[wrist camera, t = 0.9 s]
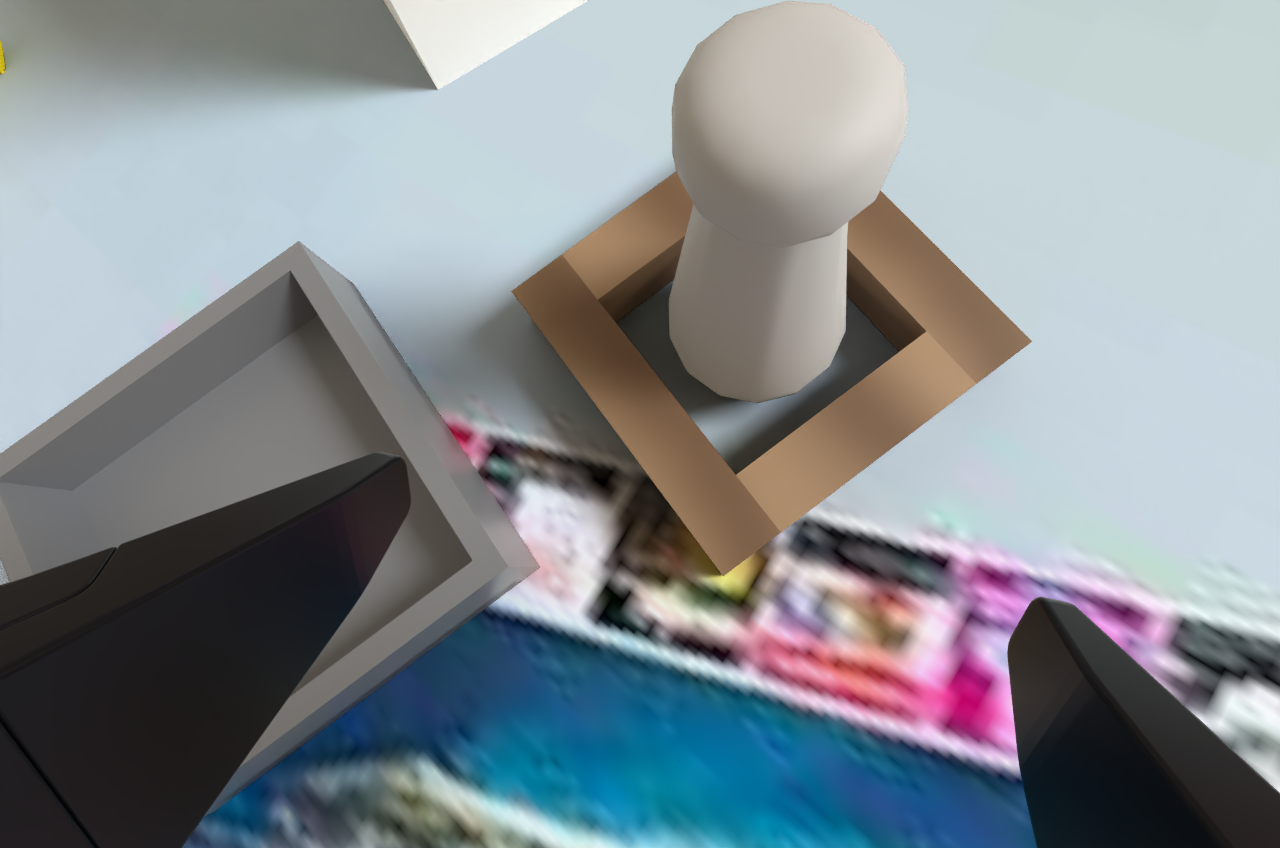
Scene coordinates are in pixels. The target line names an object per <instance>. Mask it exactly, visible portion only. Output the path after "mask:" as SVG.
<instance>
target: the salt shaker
mask: <svg viewBox="0 0 1280 848" xmlns="http://www.w3.org/2000/svg"><path fill="white" fill-rule="evenodd" d="M908 112H909V110H908V98H907V86H906V75H905V65H904V64H903V63H902V61H901V60H900V59H899V57H898V56H897V55H896V53H895V52H894V51H893V49H892V48H891V47H890V45H889V44H888V43H887V41H886V40H885V39H884V37H883V36H882V35H881V33H880V32H879V31H878V29H876V28H875V27H873V26H871V25H869V24H867V23H865V22H863V21H862V20H860V19H858V18H856V17H854V16H852V15H850V14H848V13H847V12H845V11H843V10H841V9H839V8H837V7H835V6H833V5H832V4H822V3H809V2H796V1H785V2H781V3H778V4H774V5H770V6H767V7H763V8H759V9H756V10H752V11H748V12H745V13H742V14H738V15H735V16H734V17H732V18H731V19H730V20H729V21H727V22H726V23H725V24H724V25H722V26H721V27H720V28H718V29H717V30H716V31H715V32H713V33H712V34H711V35H709V36H708V37H707V38H706V39H704V40H703V41H702V42H700V43H699V44H698V45H697V46H696V48H695V50H694V52H693V53H692V55H691V57H690V59H689V61H688V63H687V64H686V66H685V68H684V70H683V72H682V73H681V75H680V77H679V79H678V81H677V83H676V84H675V90H674V97H673V104H672V152H673V158H674V162H675V167H676V172H677V175H678V176H679V178H680V180H681V182H682V184H683V185H684V187H685V189H686V191H687V193H688V194H689V196H690V198H691V200H692V202H693V208H692V212H691V216H690V220H689V224H688V227H687V231H686V235H685V239H684V243H683V247H682V251H681V255H680V259H679V262H678V266H677V270H676V274H675V278H674V282H673V286H672V290H671V294H670V297H669V333H670V339H671V341H672V343H673V345H674V347H675V349H676V351H677V353H678V355H679V357H680V359H681V361H682V363H683V365H684V367H685V369H686V371H687V372H688V373H689V374H690V375H691V376H693V377H694V378H696V379H697V380H699V381H700V382H701V383H703V384H704V385H706V386H707V387H708V388H710V389H711V390H713V391H714V392H715V393H717V394H718V395H720V396H724V397H729V398H734V399H739V400H744V401H749V402H754V403H760V402H764V401H768V400H772V399H776V398H780V397H784V396H789V395H793V394H796V393H797V392H798V391H800V390H801V389H802V388H803V387H805V386H806V385H807V384H808V383H810V382H811V381H812V380H813V379H815V378H816V377H817V376H818V375H820V374H821V373H822V372H823V371H825V370H826V369H827V368H828V367H829V366H830V365H831V363H832V360H833V358H834V356H835V354H836V351H837V349H838V347H839V345H840V342H841V340H842V338H843V336H844V333H845V331H846V279H847V232H848V221H850V220H851V219H852V218H853V217H855V216H856V215H857V214H859V213H860V212H861V211H862V210H864V209H865V208H866V207H868V206H869V205H870V204H871V203H873V202H874V201H875V200H876V198H877V196H878V194H879V192H880V190H881V188H882V186H883V184H884V182H885V180H886V178H887V175H888V173H889V171H890V169H891V166H892V164H893V162H894V160H895V157H896V155H897V153H898V151H899V148H900V146H901V144H902V142H903V139H904V137H905V131H906V125H907V118H908Z"/></svg>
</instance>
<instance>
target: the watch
mask: <svg viewBox="0 0 1280 848" xmlns="http://www.w3.org/2000/svg"><path fill="white" fill-rule="evenodd" d="M4 69H6V67H5V61H4V55H3V48H2V42H1V41H0V74H1V73H2V74H3V73H4V72H5V71H4Z"/></svg>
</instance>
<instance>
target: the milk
mask: <svg viewBox="0 0 1280 848" xmlns="http://www.w3.org/2000/svg"><path fill="white" fill-rule="evenodd" d="M383 1H384V2H385V4H386V5H387V7H388V9H389V10H390V12H391V14H392V15H393V17H394V19H395V20H396V22H397V23H398V25H399V27H400V28H401V30H402V32H403V33H404V35H405V37H406V38H407V40H408V42H409V43H410V45H411V46H412V48H413V50H414V51H415V53H416V55H417V56H418V58H419V60H420V61H421V63H422V64H423V66H424V68H425V69H426V71H427V73H428V74H429V76H430V78H431V79H432V81H433V82H434V84H435V86H436V87H437V89H438V90H439V89H440V88H442V87H444V86H445V85H447V84H449V83H450V82H452V81H454V80H455V79H457V78H459V77H460V76H462V75H464V74H466V73H467V72H469V71H471V70H472V69H474V68H476V67H477V66H479V65H481V64H482V63H484V62H486V61H487V60H489V59H491V58H492V57H494V56H496V55H497V54H499V53H501V52H503V51H504V50H506V49H508V48H509V47H511V46H513V45H514V44H516V43H518V42H519V41H521V40H523V39H524V38H526V37H528V36H529V35H531V34H533V33H534V32H536V31H538V30H540V29H541V28H543V27H545V26H546V25H548V24H550V23H551V22H553V21H555V20H556V19H558V18H560V17H561V16H563V15H565V14H566V13H568V12H570V11H571V10H573V9H575V8H577V7H578V6H580V5H582V4H583V3H585V2H587V1H588V0H383Z"/></svg>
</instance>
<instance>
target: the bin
mask: <svg viewBox="0 0 1280 848" xmlns="http://www.w3.org/2000/svg"><path fill="white" fill-rule="evenodd" d="M374 452H384V453H389V454H393V455H398V456H401V457H402V458H403V459H404V460H405V462H406V465H407V471H408V478H409V485H410V492H411V507H410V510H409V513H408V515H407V517H406V519H405V520H404V522H403V524H402V526H401V527H400V529H399V531H398V533H397V535H396V536H395V538H394V540H393V542H392V543H391V545H390V547H389V549H388V550H387V552H386V554H385V556H384V558H383V559H382V561H381V563H380V565H379V566H378V568H377V570H376V572H375V573H374V575H373V577H372V579H371V581H370V582H369V584H368V586H367V587H366V589H365V590H364V592H363V594H362V595H361V597H360V598H359V600H358V601H357V603H356V604H355V606H354V607H353V609H352V610H351V611H350V613H349V614H348V616H347V617H346V618H345V620H344V621H343V623H342V624H341V625H340V627H339V628H338V630H337V631H336V632H335V634H334V635H333V637H332V638H331V639H330V641H329V642H328V644H327V645H326V646H325V648H324V649H323V651H322V652H321V653H320V655H319V656H318V658H317V659H316V660H315V662H314V663H313V665H312V666H311V667H310V669H309V670H308V672H307V673H306V674H305V676H304V677H303V679H302V680H301V681H300V683H299V684H298V686H297V687H296V688H295V690H294V691H293V693H292V694H291V695H290V697H289V698H288V700H287V701H286V702H285V704H284V705H283V707H282V708H281V709H280V711H279V712H278V714H277V715H276V716H275V718H274V719H273V721H272V722H271V723H270V725H269V726H268V728H267V729H266V730H265V732H264V733H263V735H262V736H261V737H260V739H259V740H258V742H257V743H256V744H255V746H254V747H253V749H252V750H251V751H250V753H249V754H248V756H247V757H246V758H245V760H244V761H243V763H242V764H241V765H240V767H239V768H238V770H237V771H236V772H235V774H234V775H233V777H232V778H231V779H230V781H229V782H228V784H227V785H226V786H225V788H224V789H223V791H222V792H221V793H220V795H219V796H218V798H217V799H216V800H215V802H214V803H213V805H212V806H211V807H210V809H209V810H208V812H207V813H206V814H205V816H206V815H208V814H210V813H213V812H214V811H215V810H217V809H218V808H219V807H221V806H222V805H223V804H225V803H226V802H227V801H229V800H230V799H231V798H233V797H234V796H235V795H237V794H238V793H239V792H241V791H242V790H243V789H245V788H246V787H247V786H249V785H250V784H251V783H253V782H254V781H255V780H257V779H258V778H259V777H261V776H262V775H263V774H265V773H266V772H267V771H269V770H270V769H271V768H273V767H274V766H275V765H277V764H278V763H279V762H281V761H282V760H283V759H285V758H286V757H287V756H289V755H290V754H291V753H293V752H294V751H295V750H297V749H298V748H299V747H301V746H302V745H303V744H305V743H306V742H307V741H309V740H310V739H311V738H313V737H314V736H315V735H317V734H318V733H319V732H321V731H322V730H323V729H325V728H326V727H327V726H329V725H330V724H331V723H333V722H334V721H335V720H337V719H338V718H340V717H341V716H342V715H344V714H345V713H346V712H348V711H349V710H350V709H352V708H353V707H354V706H356V705H357V704H358V703H360V702H361V701H362V700H364V699H365V698H366V697H368V696H369V695H370V694H372V693H373V692H374V691H376V690H377V689H378V688H380V687H381V686H382V685H384V684H385V683H386V682H388V681H389V680H390V679H392V678H393V677H394V676H396V675H397V674H398V673H400V672H401V671H402V670H404V669H405V668H406V667H408V666H409V665H410V664H412V663H413V662H414V661H416V660H417V659H418V658H420V657H421V656H422V655H424V654H425V653H426V652H428V651H429V650H430V649H432V648H433V647H434V646H436V645H437V644H438V643H440V642H441V641H442V640H444V639H445V638H446V637H448V636H449V635H450V634H452V633H453V632H454V631H456V630H457V629H458V628H460V627H461V626H462V625H464V624H465V623H466V622H468V621H469V620H470V619H472V618H473V617H474V616H476V615H477V614H478V613H480V612H481V611H482V610H484V609H485V608H486V607H488V606H489V605H490V604H492V603H493V602H494V601H496V600H497V599H498V598H500V597H501V596H502V595H504V594H505V593H506V592H508V591H509V590H510V589H512V588H513V587H514V586H516V585H517V584H518V583H520V582H521V581H522V580H524V579H525V578H526V577H528V576H529V575H530V574H532V573H533V572H534V571H536V570H537V569H538V568H540V566H539V564H538V563H537V561H536V560H535V558H534V557H533V555H532V554H531V552H530V551H529V549H528V548H527V546H526V545H525V543H524V542H523V540H522V539H521V537H520V536H519V534H518V533H517V531H516V530H515V528H514V527H513V525H512V523H511V522H510V520H509V519H508V517H507V516H506V514H505V513H504V511H503V510H502V508H501V507H500V505H499V504H498V502H497V501H496V499H495V498H494V496H493V495H492V493H491V492H490V490H489V489H488V487H487V486H486V484H485V482H484V481H483V479H482V478H481V476H480V475H479V473H478V472H477V470H476V469H475V467H474V466H473V464H472V463H471V461H470V460H469V458H468V457H467V455H466V454H465V452H464V451H463V449H462V448H461V446H460V445H459V443H458V442H457V440H456V438H455V437H454V435H453V434H452V432H451V431H450V429H449V428H448V426H447V425H446V423H445V422H444V420H443V419H442V417H441V416H440V414H439V413H438V411H437V410H436V408H435V407H434V405H433V404H432V402H431V401H430V399H429V397H428V396H427V394H426V393H425V391H424V390H423V388H422V387H421V385H420V384H419V382H418V381H417V379H416V378H415V376H414V375H413V373H412V372H411V370H410V369H409V367H408V366H407V364H406V363H405V361H404V360H403V358H402V357H401V355H400V353H399V352H398V350H397V349H396V347H395V346H394V344H393V343H392V341H391V340H390V338H389V337H388V335H387V334H386V332H385V331H384V329H383V328H382V326H381V325H380V323H379V322H378V320H377V319H376V317H375V316H374V314H373V312H372V311H371V309H370V308H369V306H368V305H367V303H366V302H365V300H364V299H363V297H362V296H361V294H360V293H359V291H358V290H357V288H356V287H355V285H354V284H353V283H352V282H350V281H349V280H348V279H347V278H345V277H344V276H343V275H341V274H340V273H339V272H338V271H336V270H335V269H334V268H333V267H331V266H330V265H329V264H327V263H326V262H325V261H324V260H322V259H321V258H320V257H318V256H317V255H316V254H315V253H313V252H312V251H311V250H310V249H308V248H307V247H306V246H304V245H303V244H302V243H301V242H299V241H298V242H297V243H295V244H294V245H293V246H291V247H290V248H288V249H287V250H286V251H284V252H283V253H281V254H280V255H279V256H277V257H276V258H274V259H273V260H272V261H270V262H269V263H267V264H266V265H265V266H263V267H262V268H260V269H259V270H258V271H256V272H255V273H253V274H252V275H251V276H249V277H248V278H246V279H245V280H244V281H242V282H241V283H239V284H238V285H236V286H235V287H234V288H232V289H231V290H229V291H228V292H227V293H225V294H224V295H222V296H221V297H220V298H218V299H217V300H215V301H214V302H213V303H211V304H210V305H208V306H207V307H206V308H204V309H203V310H201V311H200V312H199V313H197V314H196V315H194V316H193V317H192V318H190V319H189V320H187V321H186V322H185V323H183V324H182V325H180V326H179V327H178V328H176V329H175V330H173V331H172V332H171V333H169V334H168V335H166V336H165V337H164V338H162V339H161V340H159V341H158V342H157V343H155V344H154V345H152V346H151V347H149V348H148V349H147V350H145V351H144V352H142V353H141V354H140V355H138V356H137V357H135V358H134V359H133V360H131V361H130V362H128V363H127V364H126V365H124V366H123V367H121V368H120V369H119V370H117V371H116V372H114V373H113V374H112V375H110V376H109V377H107V378H106V379H105V380H103V381H102V382H100V383H99V384H98V385H96V386H95V387H93V388H92V389H91V390H89V391H88V392H86V393H85V394H84V395H82V396H81V397H79V398H78V399H77V400H75V401H74V402H72V403H71V404H70V405H68V406H67V407H65V408H64V409H62V410H61V411H60V412H58V413H57V414H55V415H54V416H53V417H51V418H50V419H48V420H47V421H46V422H44V423H43V424H41V425H40V426H39V427H37V428H36V429H34V430H33V431H32V432H30V433H29V434H27V435H26V436H25V437H23V438H22V439H20V440H19V441H18V442H16V443H15V444H13V445H12V446H11V447H9V448H8V449H6V450H5V451H4V452H2V453H1V454H0V558H1V561H2V563H3V566H4V568H5V571H6V573H7V576H8V578H9V581H10V582H12V581H16V580H19V579H22V578H25V577H28V576H31V575H34V574H37V573H40V572H43V571H45V570H48V569H51V568H54V567H57V566H60V565H63V564H66V563H69V562H71V561H74V560H77V559H80V558H83V557H86V556H88V555H91V554H94V553H97V552H99V551H102V550H105V549H107V548H110V547H116V548H118V546H119V545H120V544H122V543H125V542H127V541H130V540H133V539H136V538H138V537H141V536H144V535H147V534H149V533H152V532H155V531H158V530H161V529H163V528H166V527H169V526H172V525H174V524H177V523H180V522H183V521H185V520H188V519H191V518H194V517H197V516H199V515H202V514H205V513H208V512H210V511H213V510H216V509H219V508H222V507H224V506H227V505H230V504H233V503H235V502H238V501H241V500H244V499H246V498H249V497H252V496H255V495H258V494H260V493H263V492H266V491H269V490H271V489H274V488H277V487H280V486H282V485H285V484H288V483H291V482H294V481H296V480H299V479H302V478H305V477H307V476H310V475H313V474H316V473H318V472H321V471H324V470H327V469H330V468H332V467H335V466H338V465H341V464H343V463H346V462H349V461H352V460H355V459H357V458H360V457H363V456H366V455H368V454H371V453H374Z"/></svg>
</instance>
